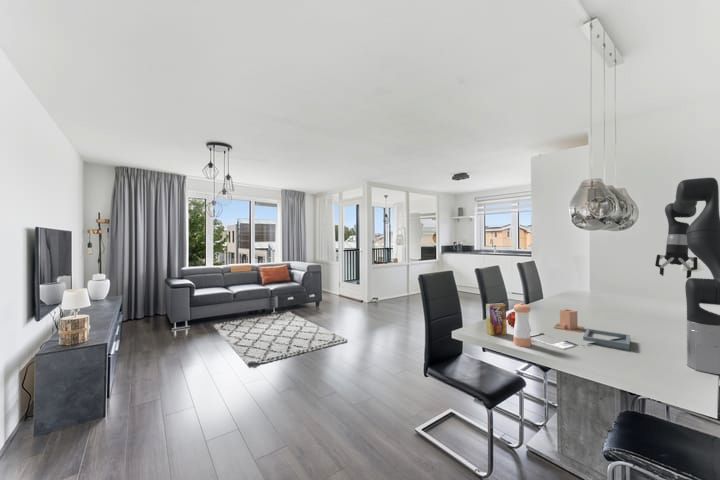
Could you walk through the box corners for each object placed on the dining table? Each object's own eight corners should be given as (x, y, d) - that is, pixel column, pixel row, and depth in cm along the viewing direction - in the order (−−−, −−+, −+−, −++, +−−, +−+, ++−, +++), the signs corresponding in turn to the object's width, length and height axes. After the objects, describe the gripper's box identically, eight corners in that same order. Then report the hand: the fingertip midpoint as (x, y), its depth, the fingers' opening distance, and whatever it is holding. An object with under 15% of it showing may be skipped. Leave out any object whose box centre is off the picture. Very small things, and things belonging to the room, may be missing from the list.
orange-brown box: (577, 328, 157) (577, 311, 157) (568, 329, 155) (567, 312, 155) (567, 325, 163) (567, 308, 163) (558, 326, 161) (558, 310, 161)
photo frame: (563, 348, 133) (525, 336, 149) (563, 350, 133) (525, 338, 149) (583, 342, 139) (545, 331, 155) (583, 345, 139) (545, 334, 155)
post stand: (581, 335, 151) (581, 318, 151) (553, 330, 159) (552, 314, 159) (584, 329, 160) (584, 313, 160) (557, 325, 168) (557, 310, 168)
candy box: (502, 332, 158) (502, 302, 158) (507, 334, 154) (506, 304, 154) (486, 332, 158) (485, 303, 157) (490, 335, 153) (490, 305, 153)
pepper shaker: (521, 347, 136) (521, 304, 136) (509, 342, 143) (509, 301, 143) (535, 345, 138) (534, 303, 138) (522, 340, 145) (522, 300, 145)
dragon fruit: (510, 325, 175) (523, 335, 163) (499, 317, 174) (511, 326, 162) (519, 313, 174) (532, 322, 162) (508, 305, 173) (521, 314, 161)
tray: (629, 351, 130) (629, 344, 130) (583, 342, 141) (583, 336, 140) (629, 341, 142) (629, 334, 142) (587, 334, 152) (587, 328, 152)
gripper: (656, 242, 151) (654, 275, 151) (699, 244, 140) (696, 279, 141) (657, 243, 156) (654, 274, 156) (698, 245, 146) (696, 278, 146)
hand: (674, 277), depth 148 cm, fingers open, 8 cm apart
